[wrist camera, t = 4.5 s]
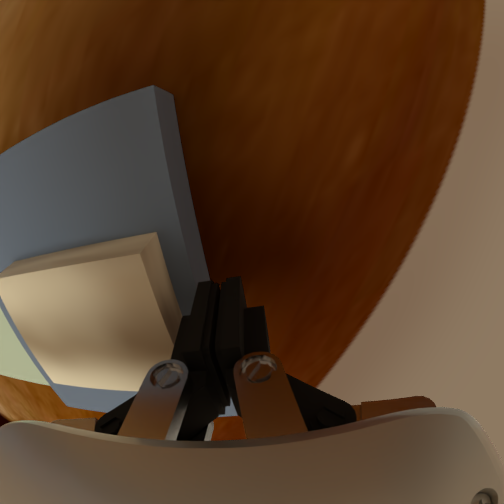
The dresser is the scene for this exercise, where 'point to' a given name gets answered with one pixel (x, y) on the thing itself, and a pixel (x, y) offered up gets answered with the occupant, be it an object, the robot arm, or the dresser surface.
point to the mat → (16, 356)
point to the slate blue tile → (103, 200)
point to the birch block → (95, 311)
